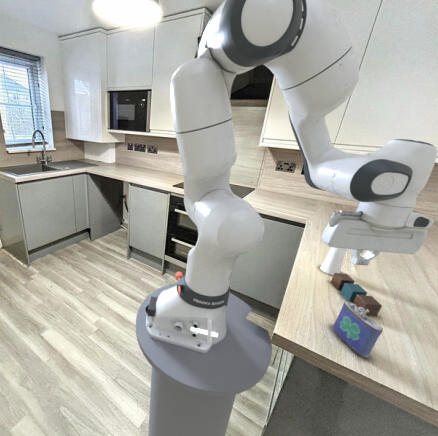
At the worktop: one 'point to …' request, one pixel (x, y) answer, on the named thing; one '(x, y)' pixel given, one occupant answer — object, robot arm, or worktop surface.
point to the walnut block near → (368, 304)
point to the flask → (357, 329)
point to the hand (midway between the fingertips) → (358, 263)
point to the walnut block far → (341, 280)
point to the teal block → (352, 291)
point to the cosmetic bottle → (333, 261)
